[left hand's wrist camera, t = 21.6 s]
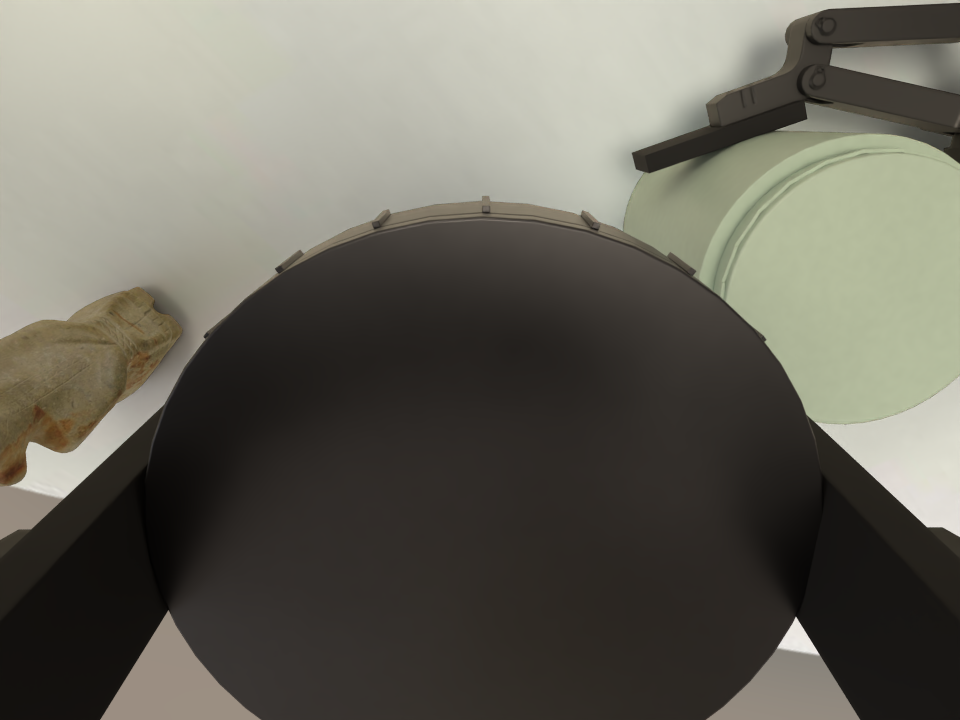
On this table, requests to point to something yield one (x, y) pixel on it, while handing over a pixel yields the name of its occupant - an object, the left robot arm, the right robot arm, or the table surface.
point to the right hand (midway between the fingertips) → (669, 279)
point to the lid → (483, 480)
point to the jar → (825, 259)
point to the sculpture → (75, 373)
